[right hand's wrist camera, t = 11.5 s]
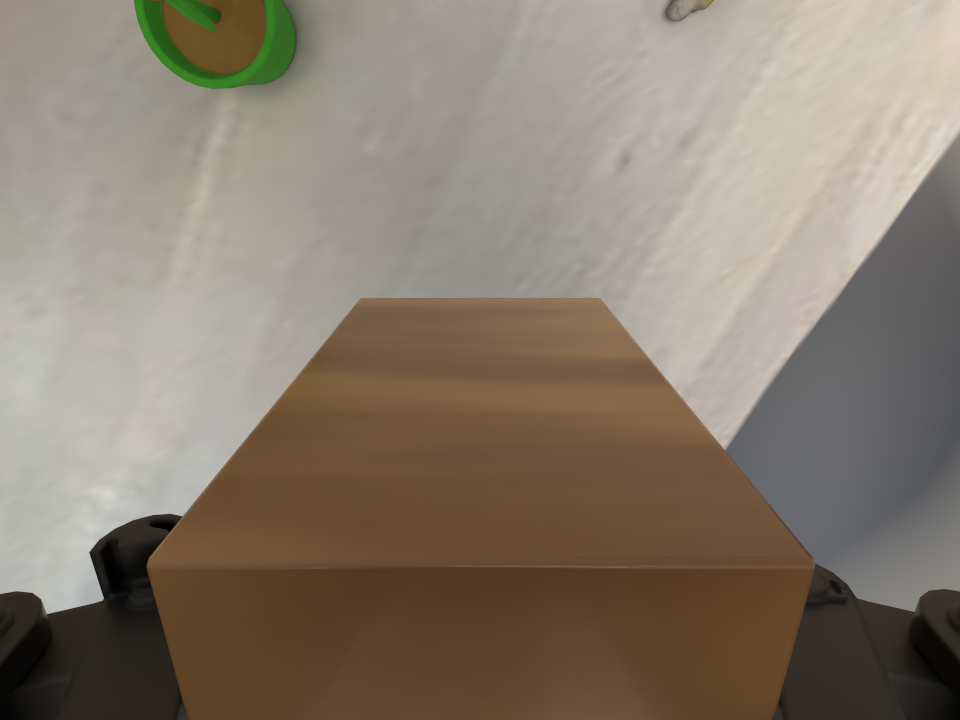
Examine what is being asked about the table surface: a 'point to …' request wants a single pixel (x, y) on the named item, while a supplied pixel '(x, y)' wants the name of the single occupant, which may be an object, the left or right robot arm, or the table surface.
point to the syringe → (685, 8)
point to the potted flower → (220, 39)
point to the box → (480, 536)
